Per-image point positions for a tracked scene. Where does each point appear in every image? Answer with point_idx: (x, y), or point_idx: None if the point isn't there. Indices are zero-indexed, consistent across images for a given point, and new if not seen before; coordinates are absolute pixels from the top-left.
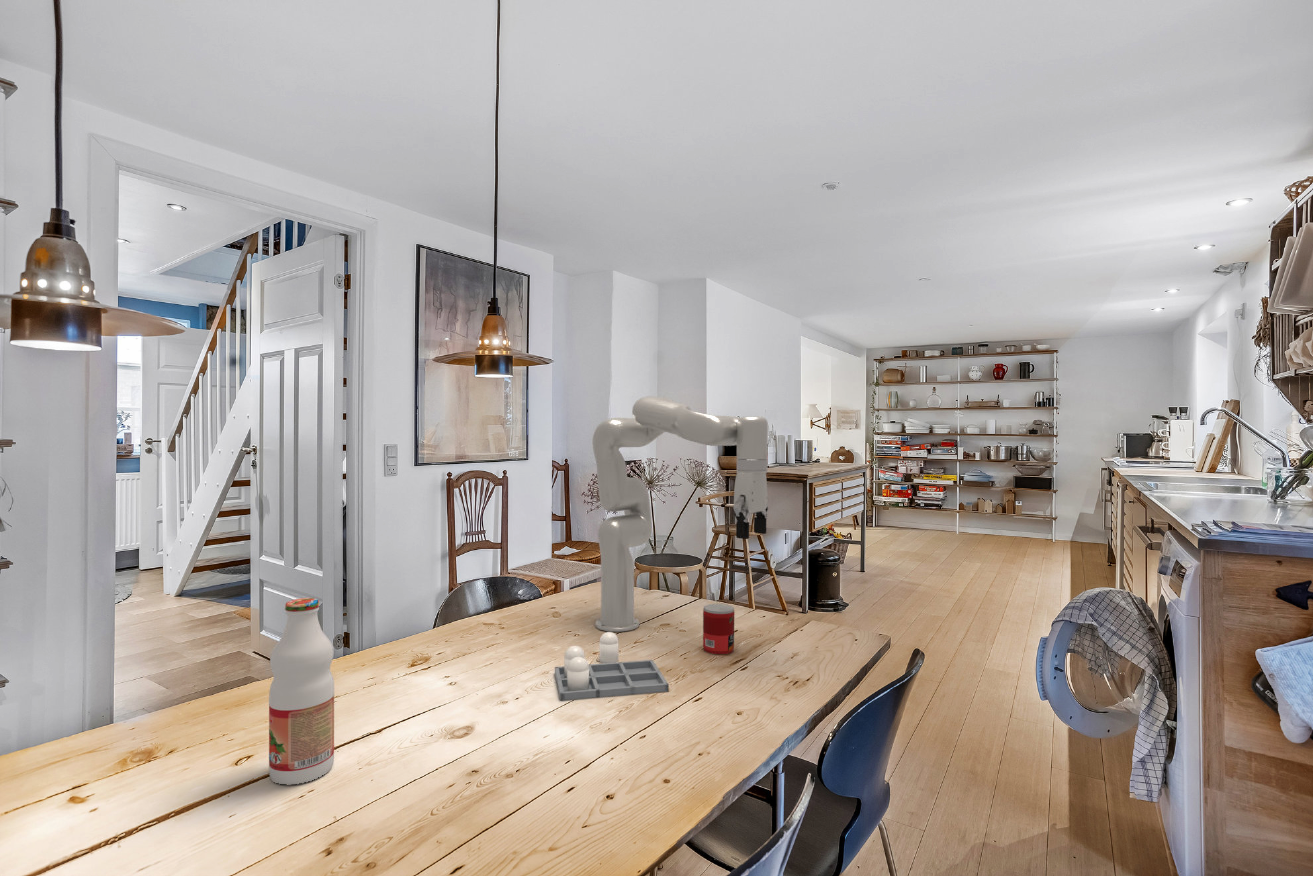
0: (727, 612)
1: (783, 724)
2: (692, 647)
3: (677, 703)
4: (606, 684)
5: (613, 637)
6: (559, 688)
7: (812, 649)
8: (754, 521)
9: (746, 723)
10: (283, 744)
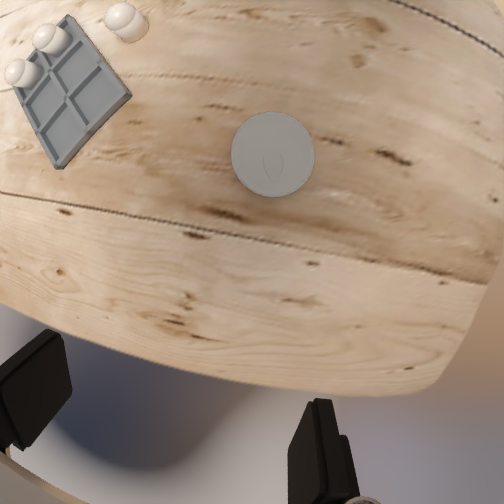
0: (247, 187)
1: (64, 320)
2: (265, 107)
3: (48, 194)
4: (56, 87)
5: (109, 23)
6: None
7: (343, 322)
8: (316, 466)
9: (47, 285)
10: None
